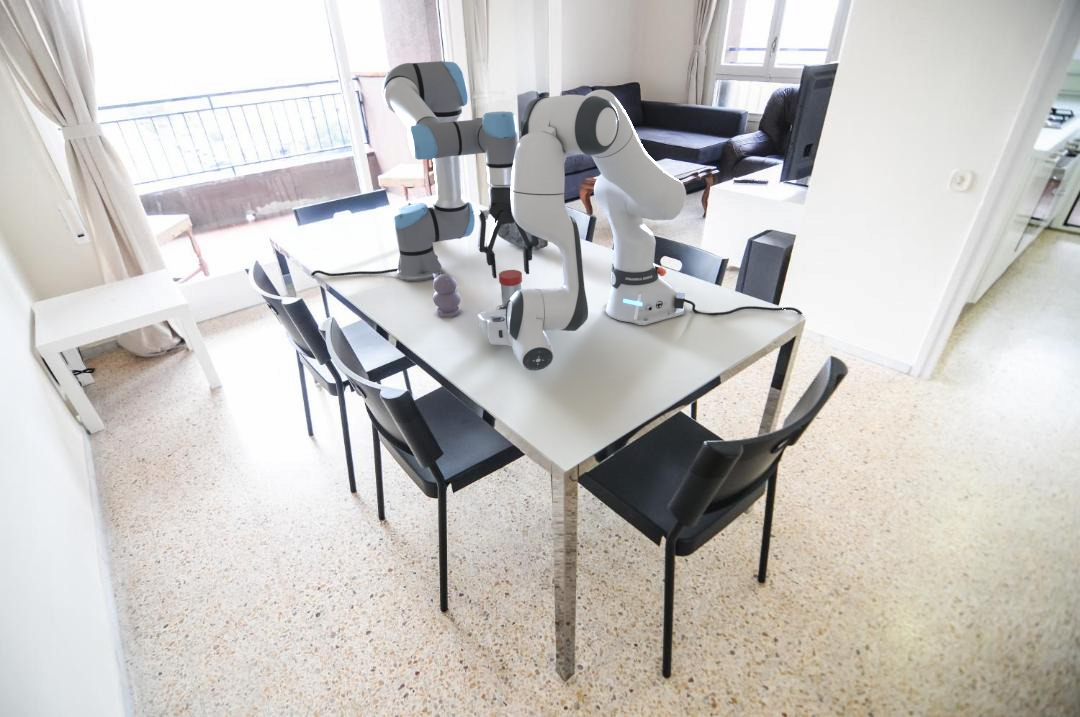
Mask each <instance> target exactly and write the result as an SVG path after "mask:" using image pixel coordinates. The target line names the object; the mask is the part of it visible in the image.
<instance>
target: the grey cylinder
mask: <svg viewBox="0 0 1080 717" xmlns="http://www.w3.org/2000/svg"><path fill="white" fill-rule="evenodd" d="M517 290H522V282H521V283H520V284H518V285H513V286H506V285H502V284H500V291H501V305H503V308H504V309H506V306H507V302H508V301H509V299H510V298H511V296H512V295H513V294H514V293H515V292H516V291H517Z"/></svg>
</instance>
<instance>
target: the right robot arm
mask: <svg viewBox="0 0 1080 717" xmlns="http://www.w3.org/2000/svg"><path fill="white" fill-rule="evenodd" d="M569 155H587V156H590V157H591V158H592V160H593V162H594V164H595V165H596V167H597V169H598V171H599V172H600V174H599V175H598V176H597V178H596V180H595V183H594V186H593V196H594V199H595V202H596V203H597V205H598V206H599V207H600V208H601V209H602V211H603V212H604V214H605V216H606V217H607V221H608V223H609V225H610V229H611V232H612V238H613V262H612V264H611V271H610V284H611V287H610V292H609V297H608V301H607V304H606V307H605V313H606V314H607V315H608V316H609V317H610V318H612V319H614V320H617V321H621V322H627V323H633V324H635V325H639V326H647V325H651V324H653V323H657V322H662V321H665V320H668V319H672V318H676V317H679V316H682V315H684V314H685V306H684V305H685V303H686V304H690V305H691V310H692V312H694V313H695V314H701V315H706V316H723V315H730V314H734V313H736V312H739V311H742V310H762V311H772V312H774V311H779V312H780V311H793V312H796V313H797V314H799V315H803V312H802V311H801V310H800V309H799V308H796V307H791V306H787V307H768V306H755V305H747V306H739V307H736V308H734V309H732V310H727V311H720V312H702V311H699V310H697V309H696V304H695V303H694V302H693V301H692V300H689V299H687V298H685V297H686V292H680V291H676V290H675V288H674V287H673V286H672V285H670V284H669V283H668V282H667V281H665V279H663V278H662V277H664V276H665V275H666V274H667V270H666V269H664V267H662V266H659V265H658V264H656V263H655V253H656V245H657V241H656V237H655V235H654V233H653V232H652V231H651V230H650V228H648V227H647V226H646V224H645V222H644V219H645V220H646V219H647V220H651V221H671V220H675V219H676V218H677V217H678V216H679V215H680V213H682V211H683V209H684V207H685V205H686V201H687V190H686V187H685V185H684V183H683V182H682V181H681V180H679V179H677V178H676V177H675V176H673V175H671V174H669V173H668V172H667V171H665V170H664V169H663V168H662V167H661V166H660V165H659V164H658V163H657V162H656V161H655V160H654V159H653V158H652V157H651V156H650V155H649V154H648V152H647V151H646V149H645V148H644V146H643V144H642V143H641V140H640V138H639V136H638V134H637V132H636V130H635V128H634V126H633V123H632V121H631V119H630V117H629V116H628V114H627V112H626V110H625V109H624V106H623V105H622V104H621V102H620V101H619V100H618V99H617V97H616V96H615V95H614V94H613V93H612V92H611V91H609V90H606V89H596V90H593V91H591V92H589V93H587V94H586V95H581V94H564V95H555V96H547V95H544V96H540V97H537V98H534V99H532V100H531V101H529V102H528V103H527V104H526V106H525V108H524V110H523V112H522V116H521V120H520V138H519V140H517V145H516V150H515V154H514V160H513V167H512V176H511V210H512V215H513V218H514V220H515V221H516V223H517V224H518V225H519V226H520V227H521V228H522V229H523V230H525V231H526V232H528V233H530V234H532V235H534V236H536V237H539V238H541V239H544V240H546V241H548V243H552V245H554V246H556V247H557V248H558V250H559V253H560V259H561V267H562V276H563V285H562V286H561V287H558V288H557V287H556V288H525V289H524V288H523V289H522V288H521V290H517V291H516V292H515V293H514V294H513V295H512V296H511V298H510V299H509V301H508V302H507V306H506V309H504V308H503V305H502V304H497V305H496V309H495V310H487V311H481V312H479V313H478V314H477V321H478V327H479V330H480V331H481V332H482V334H483V336H484V337H486V338H488V341H489V344H490V345H494V346H495V345H498V346H499V345H500V346H509V347H511V349H512V351H513V354H514V356H515V358H516V360H517V361H518V362H519V364H520V365H521V366H522V367H523V368H524V369H526V370H527V371H528V370H529V371H540V370H543V369H546V368H547V367H549V366H550V364H552V362H553V360H554V351H553V347H552V343H551V341H550V340H549V337H548V335H547V333H546V331H549V332H550V331H562V332H563V331H566V332H576V331H578V329H580V328H581V327H582V326H583V325H584V324H585V323H586V321H587V320H588V316H589V305H588V299H587V294H586V288H585V281H584V280H585V279H584V267H583V256H582V245H581V237H580V230H579V227H578V224H577V220H576V219H575V218H574V217H572V216H571V215H569V212H568V210H567V206H566V203H565V184H566V183H565V180H566V179H565V178H566V176H565V162H566V161H567V158H568V156H569ZM782 308H783V309H782ZM784 309H786V310H784Z"/></svg>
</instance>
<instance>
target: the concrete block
mask: <svg viewBox="0 0 1080 717" xmlns="http://www.w3.org/2000/svg"><path fill="white" fill-rule="evenodd" d="M524 231H525V230H524ZM525 233H526V235H527V237H528V239H529V241H532V238H531V234H530V233H528V232H526V231H525ZM497 236H498V237H499V238H501V239H503V240H505V241H506V242H508V243H510V244H511V245H513V246H515V247H517V248H518V249H521V250H523V247H526V245H525V243H524V241H523V239H522V237H521V235H520V233H519V231H518V229H517V227H516V225H515V224H509V223H507V224H505V225H501V227H500V229H499V231H498V234H497ZM538 241H539V245H538V246H534V247H533V249H532V252H537V251H539V250H541V249H544V248H547V247H548V246H549V241H546V240H544V239H541V238H539V237H538Z"/></svg>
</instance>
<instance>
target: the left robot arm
mask: <svg viewBox="0 0 1080 717" xmlns="http://www.w3.org/2000/svg"><path fill="white" fill-rule="evenodd" d="M468 93H469V92H468V87H467V82H466V79H465V76H464V72H463V71H462V69H461V67H460V66H459V64H458V63H456V62H454V61H445V60H439V61H423V62H405V63H402V64H401V63H400V64H399V65H396V66H395V67H393V68H392V69H391V70H389V72H388V73H387V74H386V76H385V77H384V79H383V82H382V85H381V95H382V98H383V101H384V103H385V104H386V106H387V107H388V109H389V110H390V111H391V112H393V113H394V114H396V115H397V116H398V117H399V119H400V120H401V121H402V123H403V124H404V125H405V127H406V128H407V139H408V145H409V149H410V151H411V155H412V157H413V158H414V159H416V160H428V161H429V160H430V161H431V160H432V162H433V171H434V172H433V173H434V182H435V191H436V195H435V197H434V198H433V199H432V206H430V207H428V205H427V204H426V203H424V202H423V203H422V202H419V203H410V204H411V205H408V204H407V205H404V206H401V207H399V208H397V209H396V210H395V211H394V213H393V215H392V219H393V228H394V230H395V231H394V232H395V236H396V241H397V247H398V251H399V259H398V265H397V268H392V269H385V270H375V271H370V270H366V271H364V270H363V271H362V270H361V271H360V270H359V271H347V272H338V273H337V272H336V273H335V272H334V273H331V272H326V271H323V270H318V269H317V270H313V271H312V272H311V274H310V276H315V275H316V274H321V275H323V276H328V277H342V276H344V277H345V276H350V275H351V276H354V275H381V274H388V273H395V272H397V276H398V278H399V279H400V280H402V281H406V282H413V283H414V282H425V281H429V280H432V279H433V280H434V276H433V273H434V274H437V275H441V274H443V268H442V264H441V263H440V260H439V257H438V255H437V254H436V252H435V250H434V243H440V242H445V241H452V240H457V239H458V240H461V239H462V238H467V237H470V236H471V234H472V233H473V231H474V228H475V222H476V221H475V220H476V219H475V214H474V212H475V211H474V207H473V205H472V203H471V202H469V201H468V198H467V197H466V195H463V182H462V181H463V180H462V166H461V156H467V155H468V156H470V155H478V154H485V161H486V162H485V163H486V172H487V183H488V184H489V186H488V198H489V206H488V209H484V210H482V209H479V210H478V211H477V215H478V218H479V227H478V240H477V242H478V243H477V249H478V251H479V253H485V258H486V263H487V265H488V266H490V267H491V275H492V276H491V277H492V278H493V279H497V266H496V255H495V252H494V250H493V249H494V246H495V242H496V241H497V237H498V231H499V229H500V227H501V225H505V224H507V223H509V224H515V225H516V227H517V229H518V231H519V233H520V235H521V237H522V239H523V241H524V243H525V245H526V247H523V249H522V254H523V256H522V257H523V271H524V273H525V274H526V275H530V261H532V260H533V251H532V249H533V247H534V246H538V245H539V241H538V237H536V236H534V235H532V234H531V238H532V241H529V239H528V237H527V235H526V233H525V231H524V230H523V229H522V228H521V227H520V226H519V225H518V224H517V223H516V221H515V220H514V218H513V215H512V210H511V176H512V167H513V160H514V154H515V150H516V145H517V143H518V126H517V118H516V114H514V113H513V112H512V111H504V110H503V111H491V112H486V113H485V112H484V114H483V116H482V117H476V118H473V119H468V120H466V119H465V120H458V119H459V118H460V117H461V115H463V108H462V107H465V106H466V105H468V101H469V94H468ZM489 215H490V216H491V217H492V218H493V223H492V226H491V229H490V232H489V236H488V239H487V242H486V232H487V231H486V230H487V220H488V219H489Z"/></svg>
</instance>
